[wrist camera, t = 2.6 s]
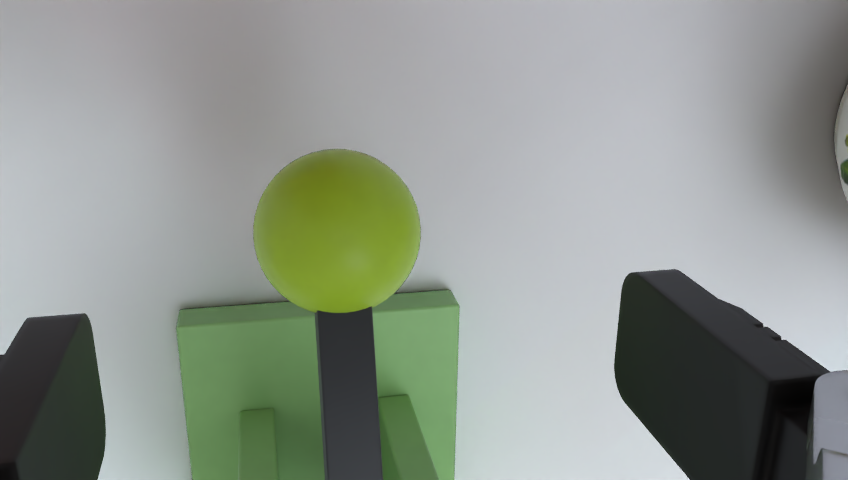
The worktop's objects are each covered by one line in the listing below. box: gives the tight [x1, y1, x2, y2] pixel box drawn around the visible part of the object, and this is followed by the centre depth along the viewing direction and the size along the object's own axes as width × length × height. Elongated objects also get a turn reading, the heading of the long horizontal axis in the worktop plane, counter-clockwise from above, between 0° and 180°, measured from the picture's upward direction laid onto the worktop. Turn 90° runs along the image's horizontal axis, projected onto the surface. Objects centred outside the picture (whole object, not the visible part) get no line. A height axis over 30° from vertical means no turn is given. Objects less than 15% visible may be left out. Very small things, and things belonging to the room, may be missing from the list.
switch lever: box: [253, 149, 421, 480], centre depth 16 cm, size 13×3×3 cm, turn 179°
